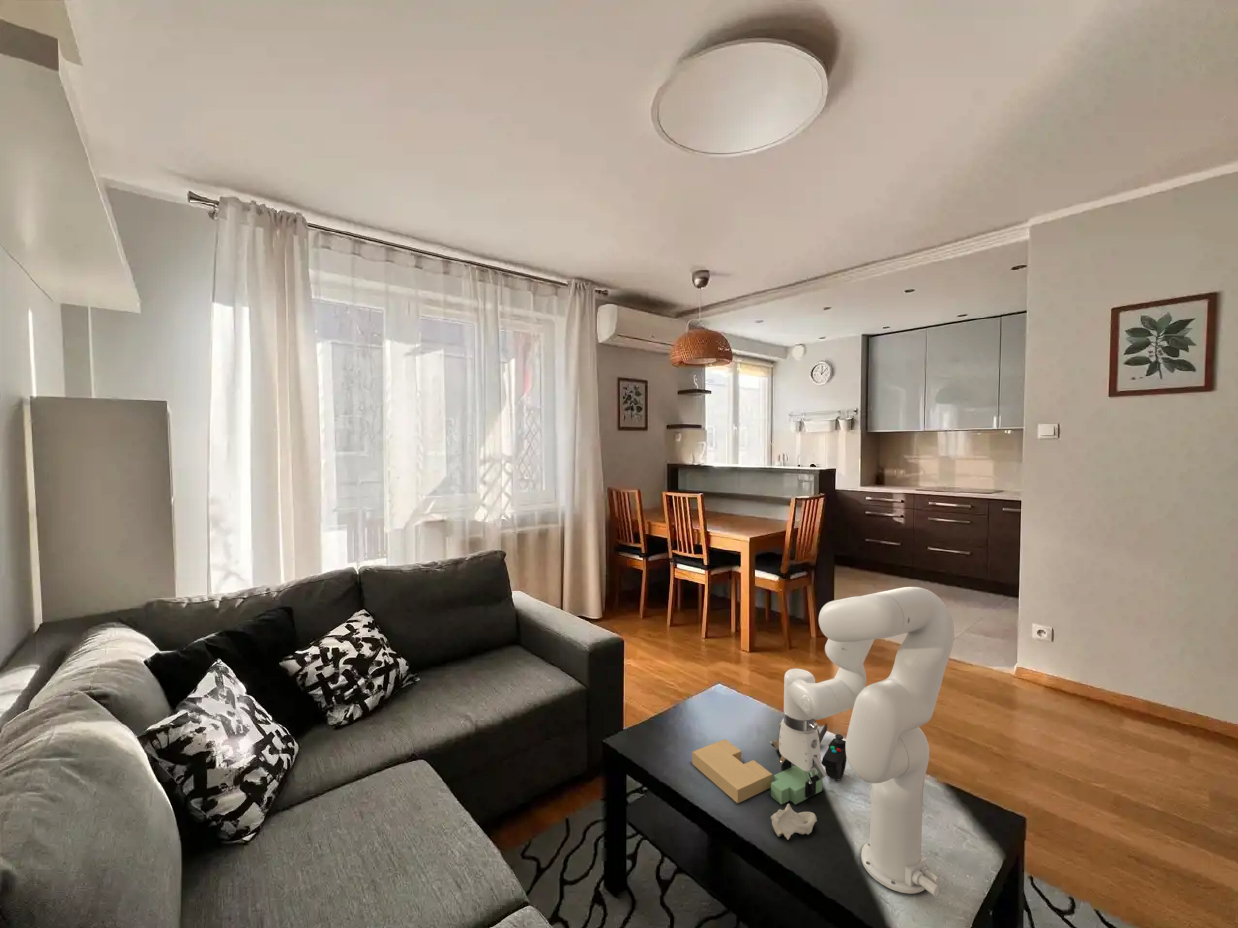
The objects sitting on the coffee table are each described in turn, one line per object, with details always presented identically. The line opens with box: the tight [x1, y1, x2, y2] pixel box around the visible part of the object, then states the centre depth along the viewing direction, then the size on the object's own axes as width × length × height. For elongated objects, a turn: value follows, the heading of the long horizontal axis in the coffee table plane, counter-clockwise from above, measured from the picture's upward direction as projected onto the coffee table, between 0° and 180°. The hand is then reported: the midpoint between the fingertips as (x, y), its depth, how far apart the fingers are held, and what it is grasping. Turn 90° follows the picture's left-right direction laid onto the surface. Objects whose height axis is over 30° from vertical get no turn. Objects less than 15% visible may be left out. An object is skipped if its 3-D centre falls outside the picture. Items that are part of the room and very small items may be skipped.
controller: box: [821, 733, 847, 781], centre depth 137 cm, size 4×12×10 cm, turn 141°
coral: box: [770, 803, 818, 840], centre depth 119 cm, size 6×10×4 cm, turn 115°
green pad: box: [770, 764, 823, 806], centre depth 132 cm, size 7×13×4 cm, turn 120°
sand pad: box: [691, 738, 773, 804], centre depth 138 cm, size 18×12×4 cm, turn 30°
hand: (798, 786), depth 132 cm, fingers closed on green pad, 7 cm apart
